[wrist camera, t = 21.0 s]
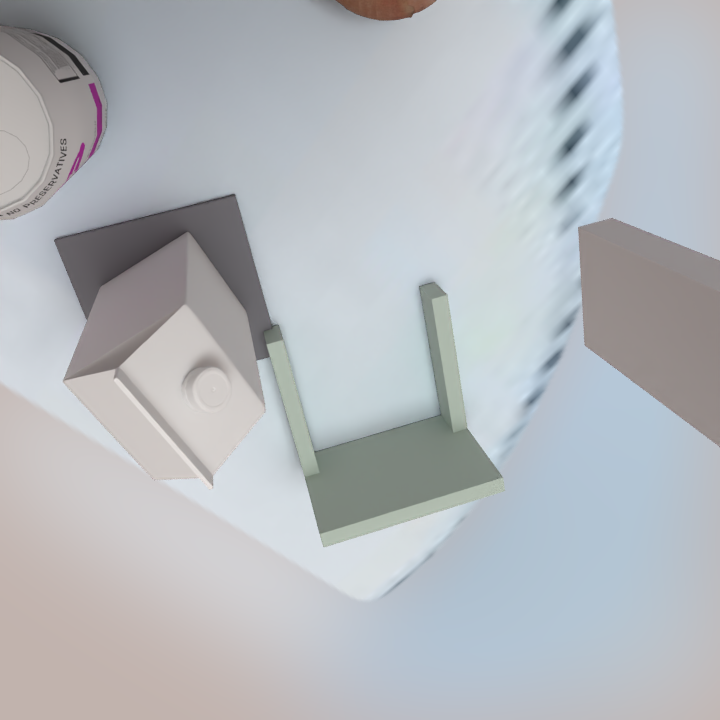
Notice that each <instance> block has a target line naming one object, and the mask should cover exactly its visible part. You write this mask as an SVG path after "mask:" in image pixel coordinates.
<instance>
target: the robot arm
mask: <svg viewBox="0 0 720 720" xmlns="http://www.w3.org/2000/svg"><path fill="white" fill-rule="evenodd" d="M578 232H579V250H580V268H581V287H582V305H583V322H584V323H583V324H584V342H585V346H586V347H588V348H589V349H590V350H592V351H593V352H594V353H596V354H597V355H598V356H600V357H601V358H602V359H604V360H605V361H606V362H608V363H609V364H610V365H612V366H613V367H614V368H616V369H617V370H618V371H620V372H621V373H622V374H624V375H625V376H626V377H628V378H629V379H630V380H631V381H633V382H634V383H635V384H637V385H638V386H639V387H641V388H642V389H643V390H645V391H646V392H648V393H649V394H650V395H651V396H653V397H654V398H655V399H657V400H658V401H659V402H661V403H663V404H664V405H665V406H666V407H667V408H669V409H670V410H671V411H673V412H674V413H675V414H677V415H678V416H680V417H681V418H682V419H684V420H685V421H686V422H687V423H689V424H690V425H692V426H693V427H694V428H696V429H697V430H698V431H699V432H701V433H702V434H703V435H705V436H706V437H707V438H709V439H710V440H712V441H713V442H714V443H715V444H717V445H718V446H719V447H720V261H719V260H717V259H714V258H712V257H709V256H707V255H704V254H702V253H699V252H696V251H694V250H691V249H689V248H686V247H684V246H681V245H679V244H676V243H674V242H671V241H669V240H666V239H664V238H661V237H659V236H656V235H653V234H651V233H649V232H646V231H643V230H641V229H638V228H636V227H634V226H631V225H629V224H626V223H623V222H621V221H618V220H616V219H613V218H611V219H607V220H603V221H599V222H596V223H592V224H588V225H584V226H581V227H578Z"/></svg>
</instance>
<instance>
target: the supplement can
mask: <svg viewBox="0 0 720 720" xmlns="http://www.w3.org/2000/svg"><path fill="white" fill-rule="evenodd" d="M106 128H107V102H106V99H105V96H104V93H103V90H102V87H101V84H100V81H99V79H98V77H97V75H96V74H95V73H94V71H93V70H92V69H91V67H90V66H89V65H88V63H87V62H86V61H85V59H84V58H83V57H82V55H80V54H79V53H78V52H76V51H75V50H74V49H72V48H71V47H69V46H68V45H67V44H65V43H64V42H63V41H61V40H60V39H58V38H56V37H53V36H50V35H46V34H43V33H40V32H37V31H34V30H31V29H24V28H16V27H9V26H2V25H0V220H9V219H15V218H17V217H19V216H22V215H24V214H26V213H28V212H31V211H33V210H35V209H37V208H40V207H42V206H43V205H44V204H45V203H46V202H47V201H48V200H49V199H50V198H51V197H52V196H53V195H54V194H55V193H56V192H57V191H58V190H59V189H60V188H61V187H62V186H63V185H64V184H65V183H66V182H67V181H68V180H69V179H70V178H71V177H72V176H73V175H74V174H75V173H76V172H77V171H78V169H79V168H80V167H81V166H82V165H83V164H84V163H85V162H86V161H87V160H88V159H89V158H90V157H91V156H92V155H93V154H94V153H95V152H96V151H97V150H98V149H99V146H100V143H101V141H102V138H103V136H104V133H105V131H106Z"/></svg>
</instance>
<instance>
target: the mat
mask: <svg viewBox="0 0 720 720" xmlns="http://www.w3.org/2000/svg"><path fill="white" fill-rule="evenodd" d="M186 232H189V233H190V234H191V235H192V236H193V238H194V239H195V240H196V242H197V243H198V244H199V246H200V247H201V249H202V250H203V251H204V253H205V254H206V256H207V257H208V258H209V260H210V261H211V263H212V264H213V265H214V267H215V268H216V270H217V271H218V272H219V274H220V275H221V277H222V278H223V279H224V281H225V282H226V284H227V285H228V286H229V288H230V289H231V291H232V292H233V293H234V295H235V296H236V298H237V299H238V300H239V302H240V303H241V305H242V306H243V308H244V309H245V311H246V313H247V317H248V322H249V327H250V332H251V337H252V342H253V347H254V352H255V356H256V361H257V360H260V359H264V358H267V357H270V355H269V351H268V348H267V344H266V340H265V336H264V332H263V331H267V330H270V329H272V325H271V321H270V318H269V314H268V311H267V307H266V304H265V300H264V297H263V293H262V289H261V286H260V282H259V279H258V275H257V272H256V268H255V265H254V261H253V257H252V254H251V250H250V247H249V243H248V240H247V236H246V232H245V229H244V225H243V222H242V218H241V215H240V211H239V208H238V204H237V200H236V197H235V195H232V196H228V197H223V198H219V199H215V200H211V201H207V202H203V203H199V204H195V205H191V206H187V207H183V208H179V209H175V210H171V211H167V212H163V213H159V214H155V215H151V216H147V217H143V218H139V219H135V220H131V221H127V222H123V223H119V224H115V225H111V226H107V227H102V228H98V229H94V230H90V231H86V232H82V233H78V234H74V235H70V236H66V237H62V238H58V239H55V241H54V242H55V244H56V246H57V249H58V251H59V254H60V256H61V259H62V261H63V263H64V266H65V268H66V271H67V273H68V276H69V278H70V280H71V283H72V285H73V288H74V290H75V292H76V295H77V297H78V300H79V302H80V305H81V307H82V309H83V312H84V314H85V317H86V319H88V317H89V314H90V312H91V309H92V307H93V304H94V302H95V299H96V297H97V294H98V292H99V289H100V287H101V286H102V285H104V284H106V283H107V282H109V281H110V280H112V279H113V278H115V277H117V276H118V275H120V274H121V273H123V272H124V271H126V270H128V269H129V268H131V267H132V266H134V265H135V264H137V263H139V262H140V261H142V260H143V259H145V258H147V257H148V256H150V255H151V254H153V253H154V252H156V251H158V250H159V249H161V248H162V247H164V246H165V245H167V244H169V243H170V242H172V241H173V240H175V239H177V238H178V237H180V236H181V235H183V234H184V233H186Z"/></svg>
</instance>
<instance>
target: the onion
mask: <svg viewBox="0 0 720 720" xmlns="http://www.w3.org/2000/svg"><path fill="white" fill-rule="evenodd" d="M336 1H337V2H339V3H340V4H341V5H343V6H344V7H345V8H346V9H348V10H350V11H352V12H353V13H355V14H358V15H360V16H364V17H367V18H371V19H376V20H399V19H403V18H407V17H412V15H413V14H414V13H417V12H420V11H422V10H424V9H425V8H427V7H428V6H430V5H432V4H433V3H434V2H435V1H436V0H336Z"/></svg>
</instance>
